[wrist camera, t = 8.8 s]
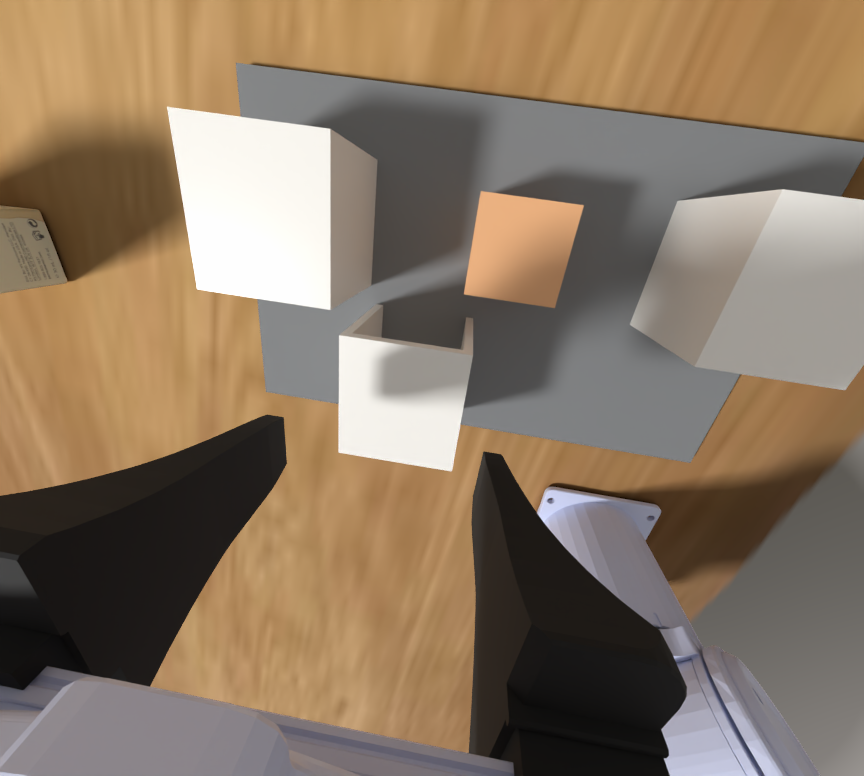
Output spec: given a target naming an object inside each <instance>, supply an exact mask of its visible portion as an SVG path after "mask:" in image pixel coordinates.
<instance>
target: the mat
mask: <svg viewBox="0 0 864 776" xmlns="http://www.w3.org/2000/svg"><path fill="white" fill-rule="evenodd" d="M236 70H237V81H238V92H239V103H240V113H241V117H246V118H253V119H261V120H268V121H276V122H283V123H291V124H298V125H306V126H313V127H321V128H328V129H331V130H333V131H335V132H336V133H338V134H339V135H341V136H342V137H344V138H345V139H347V140H348V141H350V142H351V143H353V144H354V145H356V146H357V147H359V148H360V149H362V150H363V151H365V152H366V153H368V154H369V155H371V156H372V157H374V158H375V159H377V180H376V200H375V220H374V240H373V260H372V280H371V286H369V287H368V288H366V289H364V290H363V291H361V292H359V293H358V294H356V295H355V296H353V297H351V298H350V299H348V300H346V301H345V302H343V303H341V304H340V305H338V306H336V307H335V308H333V309H331V310H327V309H321V308H314V307H308V306H301V305H295V304H289V303H282V302H276V301H269V300H263V299H258V310H259V320H260V331H261V342H262V353H263V364H264V375H265V386H266V392H270V393H276V394H282V395H288V396H294V397H300V398H306V399H312V400H318V401H324V402H330V403H336V404H339V335H340V334H341V333H342V332H343V331H345V330H346V329H347V328H348V327H350V326H351V325H352V324H353V323H354V322H356V321H357V320H358V319H359V318H360V317H362V316H363V315H364V314H365V313H366V312H368V311H369V310H370V309H371V308H372V307H374V306H375V305H376V304H380V305H383V320H382V337H381V338H387V339H394V340H401V341H407V342H414V343H420V344H427V345H434V346H440V347H447V348H454V349H460V350H461V346H462V340H463V334H464V328H465V322H466V317H468V318H473V359H472V364H471V369H470V375H469V380H468V386H467V391H466V397H465V402H464V408H463V413H462V418H461V424H462V425H468V426H474V427H480V428H486V429H492V430H498V431H503V432H509V433H515V434H521V435H527V436H533V437H539V438H545V439H551V440H557V441H563V442H569V443H575V444H581V445H587V446H593V447H599V448H605V449H611V450H617V451H623V452H629V453H635V454H641V455H647V456H653V457H659V458H665V459H671V460H677V461H683V462H689V463H690V462H691V461H692V459H693V457H694V455H695V453H696V452H697V450H698V448H699V446H700V445H701V443H702V441H703V439H704V438H705V436H706V434H707V432H708V431H709V429H710V427H711V425H712V423H713V422H714V420H715V418H716V416H717V415H718V413H719V411H720V409H721V408H722V406H723V404H724V402H725V401H726V399H727V397H728V395H729V393H730V392H731V390H732V388H733V386H734V385H735V383H736V381H737V379H738V378H739V376H740V374H738V373H731V372H725V371H718V370H712V369H705V368H699V367H694V366H693V365H691V364H689V363H688V362H686V361H685V360H683V359H682V358H680V357H679V356H677V355H676V354H674V353H673V352H671V351H669V350H668V349H666V348H665V347H663V346H662V345H660V344H659V343H657V342H656V341H654V340H652V339H651V338H649V337H648V336H646V335H645V334H643V333H642V332H640V331H639V330H637V329H636V328H634V327H632V326H631V325H630V322H631V320H632V317H633V315H634V312H635V310H636V307H637V304H638V302H639V299H640V297H641V294H642V291H643V289H644V286H645V284H646V281H647V279H648V276H649V273H650V271H651V268H652V266H653V263H654V260H655V258H656V255H657V253H658V250H659V248H660V245H661V242H662V240H663V237H664V235H665V232H666V229H667V227H668V224H669V222H670V219H671V216H672V214H673V211H674V209H675V206H676V204H677V201H681V200H690V199H699V198H708V197H717V196H726V195H735V194H744V193H753V192H762V191H771V190H780V189H785V190H793V191H800V192H808V193H815V194H823V195H830V196H838V197H841V196H842V194H843V192H844V190H845V189H846V187H847V185H848V183H849V182H850V180H851V178H852V176H853V175H854V173H855V171H856V169H857V168H858V166H859V164H860V162H861V160H862V159H863V157H864V143H863V142H856V141H848V140H840V139H832V138H824V137H816V136H808V135H800V134H793V133H785V132H777V131H769V130H761V129H753V128H745V127H737V126H729V125H722V124H714V123H706V122H698V121H690V120H682V119H674V118H666V117H659V116H651V115H643V114H635V113H627V112H619V111H611V110H603V109H595V108H588V107H580V106H572V105H564V104H556V103H548V102H540V101H532V100H525V99H517V98H509V97H501V96H493V95H485V94H477V93H469V92H461V91H454V90H446V89H438V88H430V87H422V86H414V85H406V84H398V83H391V82H383V81H375V80H367V79H359V78H351V77H343V76H335V75H327V74H320V73H312V72H304V71H296V70H288V69H280V68H272V67H264V66H257V65H249V64H241V63H236ZM481 191H484V192H492V193H499V194H506V195H513V196H520V197H528V198H535V199H542V200H549V201H557V202H564V203H571V204H578V205H584V207H583V210H582V214H581V217H580V221H579V224H578V228H577V231H576V235H575V239H574V242H573V246H572V249H571V253H570V256H569V260H568V263H567V267H566V270H565V274H564V277H563V281H562V284H561V288H560V291H559V295H558V298H557V302H556V305H555V308H551V307H544V306H538V305H531V304H524V303H518V302H511V301H505V300H498V299H491V298H485V297H478V296H472V295H465V294H464V290H465V283H466V276H467V270H468V264H469V258H470V252H471V246H472V240H473V234H474V228H475V222H476V216H477V210H478V204H479V198H480V193H481Z"/></svg>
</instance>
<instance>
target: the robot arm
mask: <svg viewBox="0 0 864 776" xmlns="http://www.w3.org/2000/svg"><path fill="white" fill-rule="evenodd" d="M286 464H287V460H286V445H285V431H284V417H278V416H272V415H265V416H262V417H259V418H257V419H255V420H252V421H250V422H248V423H245V424H243V425H241V426H239V427H236V428H234V429H232V430H230V431H227V432H225V433H223V434H220V435H218V436H216V437H214V438H211V439H209V440H207V441H204V442H202V443H199V444H197V445H194V446H192V447H189V448H187V449H184V450H182V451H179V452H177V453H174V454H171V455H168V456H166V457H163V458H160V459H157V460H154V461H151V462H148V463H144V464H141V465H138V466H135V467H132V468H128V469H124V470H120V471H117V472H113V473H109V474H106V475H102V476H98V477H94V478H90V479H86V480H82V481H77V482H73V483H68V484H64V485H59V486H54V487H49V488H44V489H39V490H33V491H28V492H22V493H16V494H9V495H3V496H0V776H821V775H820V774H819V772H818V770H817V769H816V767H815V766H814V764H813V762H812V761H811V759H810V758H809V756H808V755H807V753H806V752H805V750H804V749H803V747H802V745H801V744H800V742H799V741H798V739H797V738H796V736H795V735H794V733H793V732H792V730H791V729H790V727H789V726H788V724H787V723H786V721H785V720H784V718H783V717H782V715H781V714H780V712H779V711H778V709H777V708H776V706H775V705H774V704H773V702H772V701H771V699H770V698H769V697H768V695H767V694H766V692H765V691H764V690H763V688H762V687H761V685H760V684H759V683H758V681H757V680H756V679H755V677H754V676H753V675H752V673H751V672H750V671H749V670H748V669H747V667H746V666H745V665H744V664H743V663H742V662H741V661H740V660H739V659H738V658H737V657H735V656H733V655H731V654H729V653H727V652H724V651H723V650H722V649H721V648H719V647H718V646H710V647H706V648H704V647H703V646H702V644H701V643H700V641H699V639H698V637H697V635H696V633H695V631H694V630H693V628H692V626H691V624H690V622H689V620H688V619H687V617H686V615H685V613H684V611H683V609H682V607H681V606H680V604H679V602H678V600H677V598H676V596H675V595H674V593H673V591H672V589H671V587H670V585H669V583H668V582H667V580H666V578H665V576H664V574H663V572H662V570H661V569H660V567H659V565H658V563H657V561H656V559H655V558H654V556H653V554H652V552H651V550H650V548H649V546H648V545H647V543H646V539H647V537H648V535H649V534H650V532H651V530H652V528H653V526H654V525H655V523H656V521H657V519H658V518H659V516H660V514H661V510H660V508H659V507H658V506H657V505H655V504H651V503H645V502H639V501H633V500H628V499H622V498H616V497H610V496H604V495H599V494H593V493H587V492H581V491H576V490H570V489H564V488H558V487H548V488H547V489H546V490H545V492H544V495H543V498H542V500H541V503H540V506H539V509H538V512H536V511H535V510H534V508H533V507H532V505H531V504H530V502H529V501H528V499H527V498H526V496H525V495H524V493H523V491H522V490H521V488H520V487H519V485H518V483H517V482H516V480H515V478H514V476H513V475H512V473H511V471H510V469H509V467H508V466H507V464H506V462H505V460H504V458H503V456H502V455H501V454H495V453H489V452H483V456H482V461H481V465H480V469H479V473H478V478H477V482H476V486H475V490H474V494H473V506H472V538H473V554H474V569H475V585H476V612H475V642H474V668H473V688H472V708H471V725H470V742H469V753H465V752H460V751H455V750H450V749H445V748H440V747H436V746H431V745H426V744H421V743H416V742H411V741H407V740H402V739H397V738H392V737H387V736H382V735H378V734H373V733H368V732H363V731H358V730H353V729H349V728H344V727H339V726H334V725H329V724H325V723H320V722H315V721H310V720H305V719H300V718H296V717H291V716H286V715H281V714H276V713H271V712H267V711H262V710H257V709H252V708H247V707H242V706H238V705H234V704H231V703H226V702H221V701H217V700H212V699H207V698H202V697H197V696H192V695H188V694H183V693H178V692H173V691H168V690H163V689H159V688H154V687H150V685H151V683H152V681H153V679H154V677H155V675H156V673H157V672H158V670H159V668H160V666H161V664H162V662H163V660H164V658H165V656H166V654H167V652H168V650H169V648H170V646H171V644H172V642H173V641H174V639H175V637H176V635H177V633H178V631H179V630H180V628H181V626H182V624H183V622H184V620H185V619H186V617H187V615H188V613H189V611H190V610H191V608H192V606H193V604H194V603H195V601H196V599H197V598H198V596H199V594H200V592H201V591H202V589H203V587H204V586H205V584H206V582H207V580H208V579H209V577H210V576H211V574H212V572H213V571H214V569H215V567H216V566H217V564H218V563H219V561H220V559H221V558H222V556H223V554H224V553H225V551H226V550H227V549H228V547H229V546H230V544H231V543H232V541H233V540H234V539H235V537H236V536H237V535H238V533H239V532H240V531H241V530H242V528H243V527H244V526H245V524H246V523H247V522H248V520H249V519H250V518H251V516H252V515H253V514H254V513H255V511H256V510H257V509H258V507H259V506H260V505H261V503H262V502H263V501H264V499H265V498H266V497H267V495H268V494H269V493H270V491H271V490H272V488H273V487H274V485H275V484H276V482H277V480H278V478H279V477H280V475H281V473H282V471H283V469H284V468H285V466H286ZM549 498H553V499H551V500H548V499H549ZM648 516H650V517H648Z"/></svg>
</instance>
